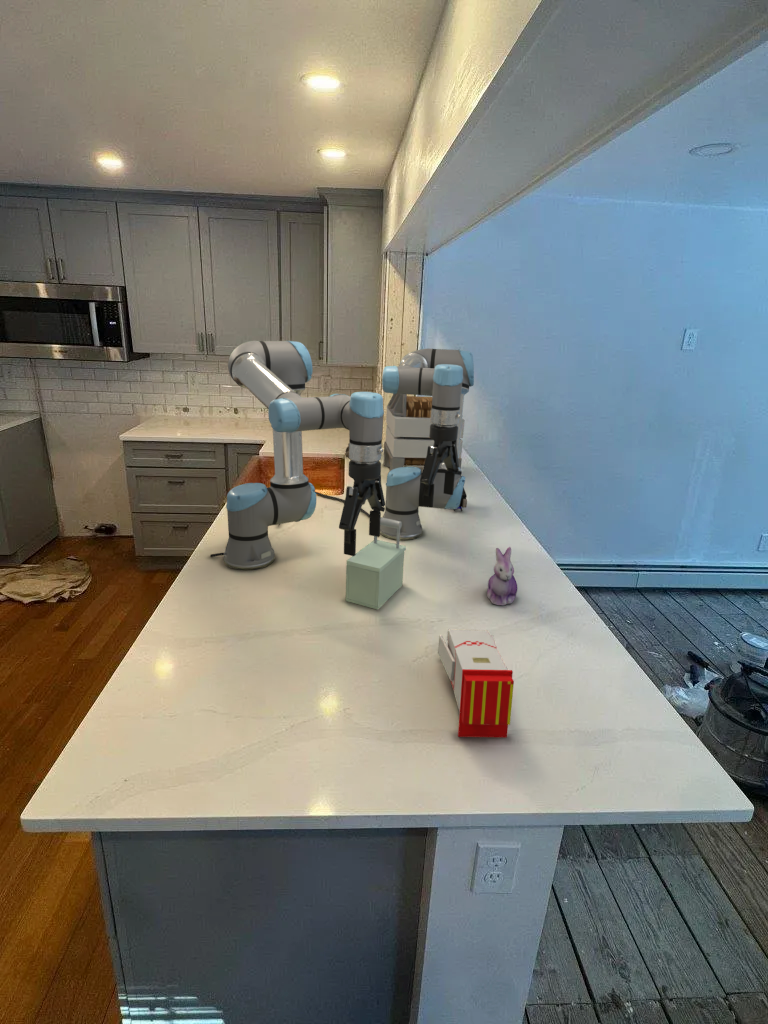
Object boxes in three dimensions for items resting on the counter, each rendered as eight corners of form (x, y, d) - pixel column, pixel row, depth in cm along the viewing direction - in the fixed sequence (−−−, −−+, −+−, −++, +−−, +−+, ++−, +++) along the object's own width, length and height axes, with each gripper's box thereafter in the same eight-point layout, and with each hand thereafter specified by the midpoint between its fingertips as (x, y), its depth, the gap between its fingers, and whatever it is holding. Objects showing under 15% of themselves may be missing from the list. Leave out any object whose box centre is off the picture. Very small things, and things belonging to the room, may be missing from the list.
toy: (488, 613, 130) (523, 677, 101) (484, 667, 133) (517, 744, 104) (435, 612, 130) (455, 676, 101) (432, 666, 133) (451, 743, 103)
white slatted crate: (382, 463, 289) (386, 382, 275) (445, 464, 293) (451, 384, 279) (390, 482, 257) (394, 392, 243) (460, 483, 261) (468, 394, 247)
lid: (374, 542, 164) (376, 513, 161) (405, 549, 160) (407, 519, 157) (346, 564, 149) (347, 532, 146) (379, 572, 145) (381, 539, 142)
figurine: (499, 610, 151) (506, 558, 146) (476, 593, 160) (482, 544, 155) (527, 603, 156) (534, 553, 151) (503, 587, 164) (509, 539, 159)
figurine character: (467, 516, 223) (461, 500, 237) (469, 499, 220) (463, 483, 233) (450, 516, 223) (446, 499, 236) (452, 498, 220) (447, 483, 233)
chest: (372, 577, 167) (373, 544, 163) (402, 585, 163) (404, 551, 159) (345, 600, 153) (346, 564, 149) (377, 609, 149) (379, 573, 145)
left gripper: (355, 475, 119) (352, 566, 127) (400, 451, 141) (396, 531, 148) (324, 470, 122) (323, 560, 129) (373, 448, 144) (370, 526, 151)
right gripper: (437, 434, 139) (431, 515, 146) (474, 419, 160) (467, 491, 167) (410, 429, 143) (405, 509, 150) (450, 416, 163) (444, 486, 170)
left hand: (362, 544), depth 139 cm, fingers open, 13 cm apart
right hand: (438, 500), depth 158 cm, fingers open, 13 cm apart
